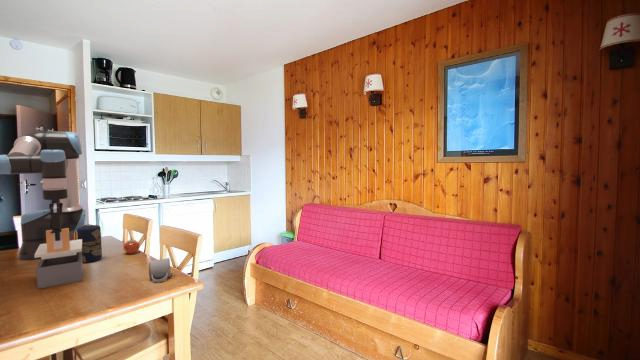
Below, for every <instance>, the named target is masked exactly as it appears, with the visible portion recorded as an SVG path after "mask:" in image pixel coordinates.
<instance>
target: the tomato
mask: <svg viewBox="0 0 640 360" xmlns="http://www.w3.org/2000/svg"><path fill="white" fill-rule="evenodd" d="M139 249H140V242H138V241H137V240H136V239H133V238H132V237H131V238H130V239H129V240H127V241H126V242H125V243H124V245H123V250H124V252H125V253H126V254H128V255H134V254H136V253H137V252H138V251H139Z"/></svg>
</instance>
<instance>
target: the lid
mask: <svg viewBox="0 0 640 360" xmlns="http://www.w3.org/2000/svg"><path fill="white" fill-rule="evenodd" d="M61 230H62V231H61V232H62V242H63V248H60V249H54V242H53V233H51V232H52V230H46V241H47V243H46V244H40V245H39V247H38V249H37V251H36V253H35V255H34V258H38V257H41V258H40V260H43V259H50V258H57V257H64V256H71V255H77V252H81V251H82V239H79V240H77V239H71V240H70V232H69V228H65V229H61Z"/></svg>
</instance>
